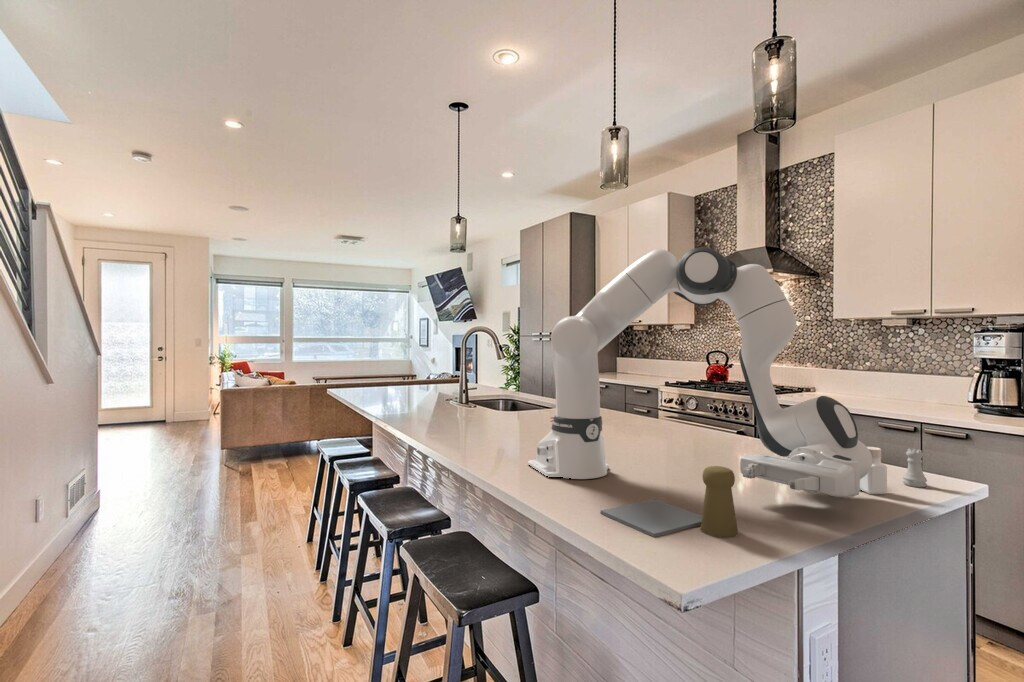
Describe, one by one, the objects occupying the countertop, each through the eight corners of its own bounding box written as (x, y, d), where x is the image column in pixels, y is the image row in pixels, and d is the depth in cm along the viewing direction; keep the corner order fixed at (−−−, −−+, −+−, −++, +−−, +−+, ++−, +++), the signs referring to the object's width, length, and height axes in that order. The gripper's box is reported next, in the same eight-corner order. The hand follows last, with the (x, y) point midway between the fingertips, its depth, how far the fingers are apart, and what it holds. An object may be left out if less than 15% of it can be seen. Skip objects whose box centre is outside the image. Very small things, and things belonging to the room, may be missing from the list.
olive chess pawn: (694, 525, 92) (694, 463, 92) (727, 524, 92) (726, 462, 92) (709, 538, 86) (709, 472, 86) (745, 537, 86) (744, 471, 86)
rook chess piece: (900, 485, 116) (900, 449, 116) (905, 481, 119) (904, 446, 119) (925, 489, 113) (925, 452, 113) (929, 485, 116) (929, 449, 116)
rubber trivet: (600, 513, 98) (600, 510, 98) (654, 501, 105) (654, 498, 105) (654, 537, 86) (654, 533, 86) (711, 522, 93) (711, 519, 93)
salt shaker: (888, 494, 109) (888, 449, 109) (869, 495, 109) (869, 450, 109) (875, 489, 113) (874, 446, 113) (857, 489, 113) (856, 446, 113)
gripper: (763, 444, 110) (720, 451, 104) (868, 462, 93) (824, 473, 86) (764, 473, 110) (721, 483, 104) (868, 497, 93) (825, 511, 86)
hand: (768, 478), depth 95 cm, fingers open, 8 cm apart
